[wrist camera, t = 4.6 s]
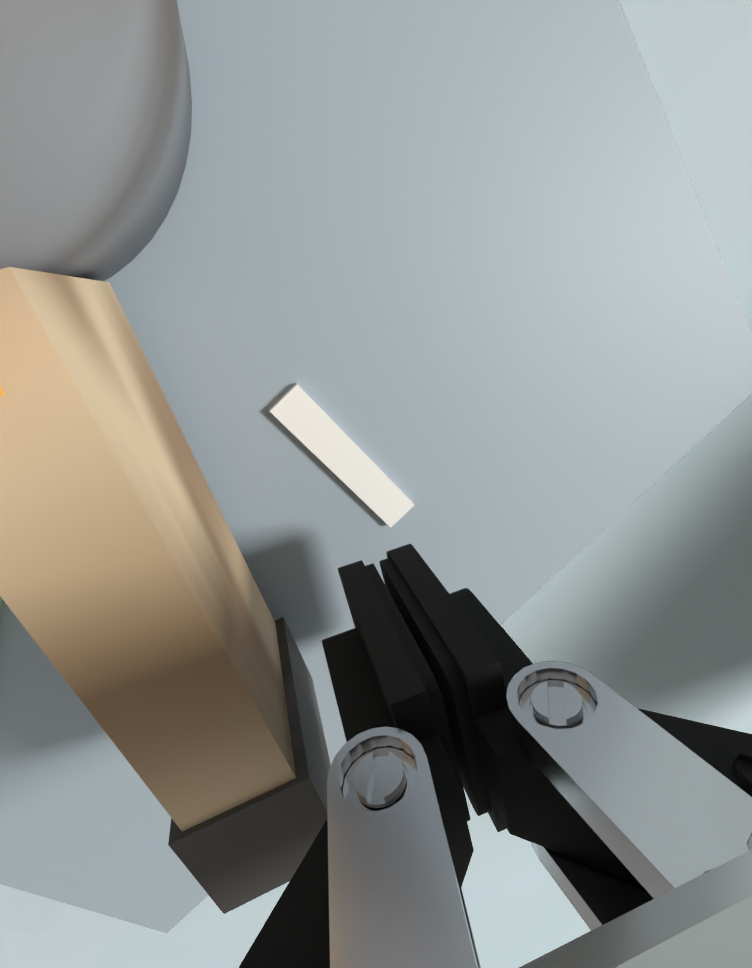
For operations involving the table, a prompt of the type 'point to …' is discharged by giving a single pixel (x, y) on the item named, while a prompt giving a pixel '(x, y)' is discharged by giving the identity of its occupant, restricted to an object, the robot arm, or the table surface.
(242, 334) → the board
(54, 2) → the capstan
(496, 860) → the table surface
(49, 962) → the table surface
